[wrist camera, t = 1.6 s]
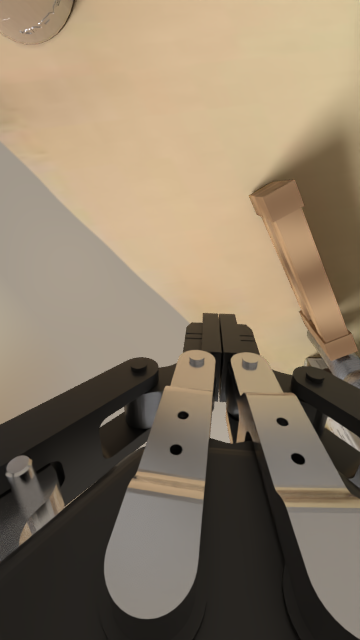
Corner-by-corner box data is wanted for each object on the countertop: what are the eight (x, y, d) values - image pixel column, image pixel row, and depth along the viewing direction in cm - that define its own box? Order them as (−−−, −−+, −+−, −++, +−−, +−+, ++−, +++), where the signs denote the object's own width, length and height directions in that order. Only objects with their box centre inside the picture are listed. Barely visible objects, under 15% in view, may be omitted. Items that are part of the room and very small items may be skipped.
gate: (325, 316, 32) (358, 351, 25) (305, 325, 32) (331, 360, 26) (272, 181, 26) (294, 179, 20) (248, 195, 27) (262, 197, 20)
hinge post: (301, 327, 33) (347, 393, 22) (328, 316, 32) (389, 379, 22) (310, 347, 34) (358, 420, 24) (337, 337, 33) (399, 407, 23)
